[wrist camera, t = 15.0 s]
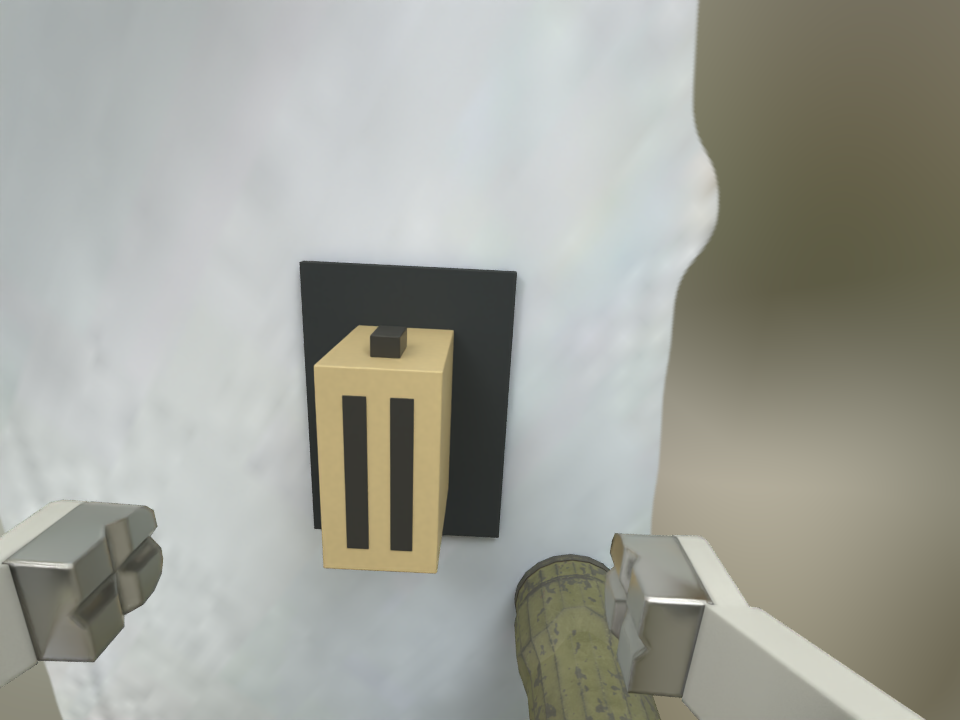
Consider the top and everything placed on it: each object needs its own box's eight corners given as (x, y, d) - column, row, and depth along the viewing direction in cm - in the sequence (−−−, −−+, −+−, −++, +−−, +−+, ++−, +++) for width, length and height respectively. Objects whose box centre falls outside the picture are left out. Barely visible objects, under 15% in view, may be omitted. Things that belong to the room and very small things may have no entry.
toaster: (448, 488, 37) (436, 575, 28) (361, 484, 37) (322, 569, 28) (454, 312, 33) (443, 348, 24) (357, 307, 33) (311, 342, 24)
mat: (303, 260, 33) (299, 261, 32) (516, 271, 33) (516, 272, 32) (317, 522, 38) (314, 529, 38) (498, 531, 38) (498, 538, 38)
